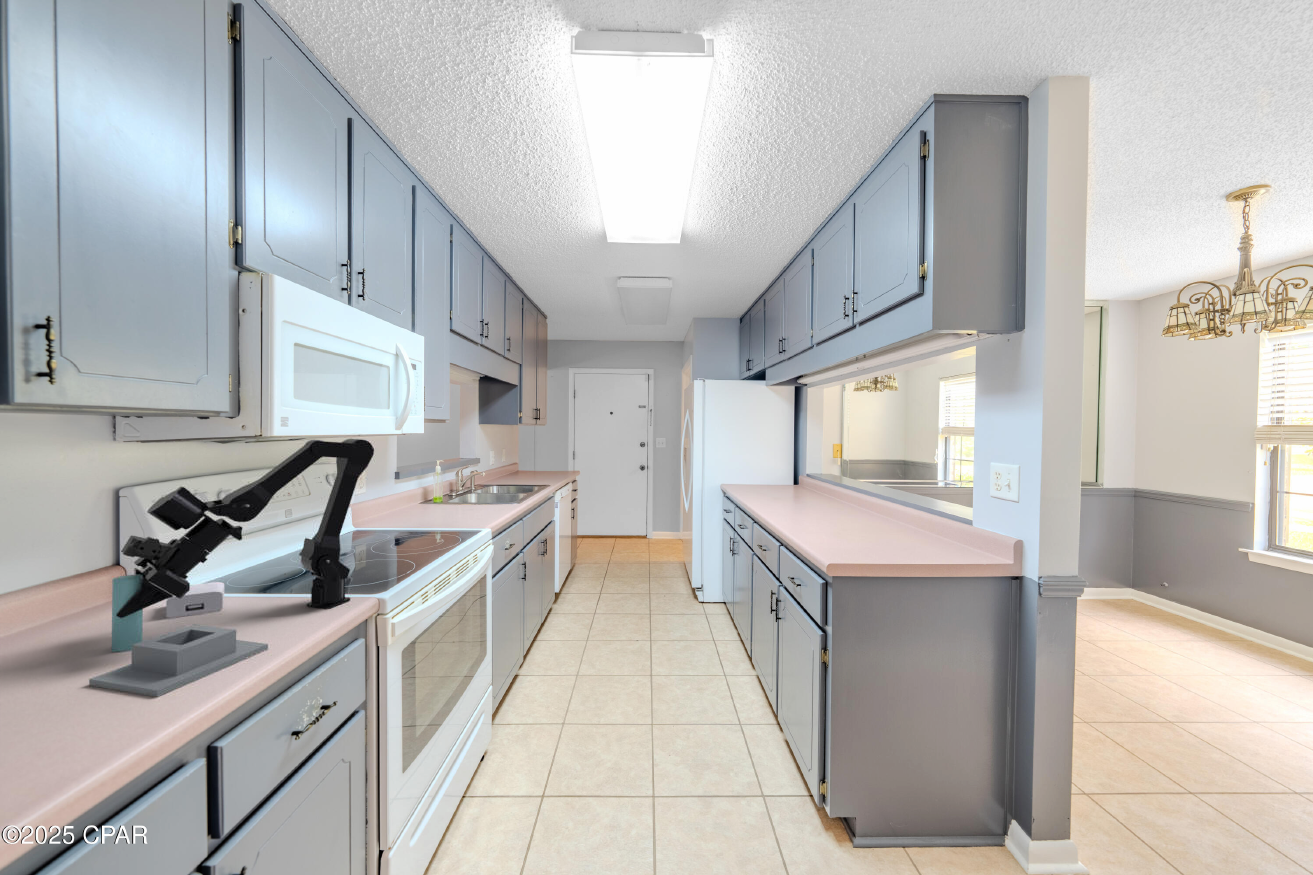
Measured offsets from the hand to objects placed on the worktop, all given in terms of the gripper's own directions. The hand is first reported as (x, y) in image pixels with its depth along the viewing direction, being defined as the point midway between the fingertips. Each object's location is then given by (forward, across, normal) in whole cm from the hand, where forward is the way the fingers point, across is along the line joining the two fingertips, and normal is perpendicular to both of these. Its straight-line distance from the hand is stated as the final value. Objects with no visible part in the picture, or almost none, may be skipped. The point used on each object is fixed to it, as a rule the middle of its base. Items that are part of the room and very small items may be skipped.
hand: (116, 613), depth 96 cm
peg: (+4, 0, +6) cm, 7 cm away
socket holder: (0, +17, +10) cm, 20 cm away
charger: (-5, -20, +15) cm, 26 cm away
